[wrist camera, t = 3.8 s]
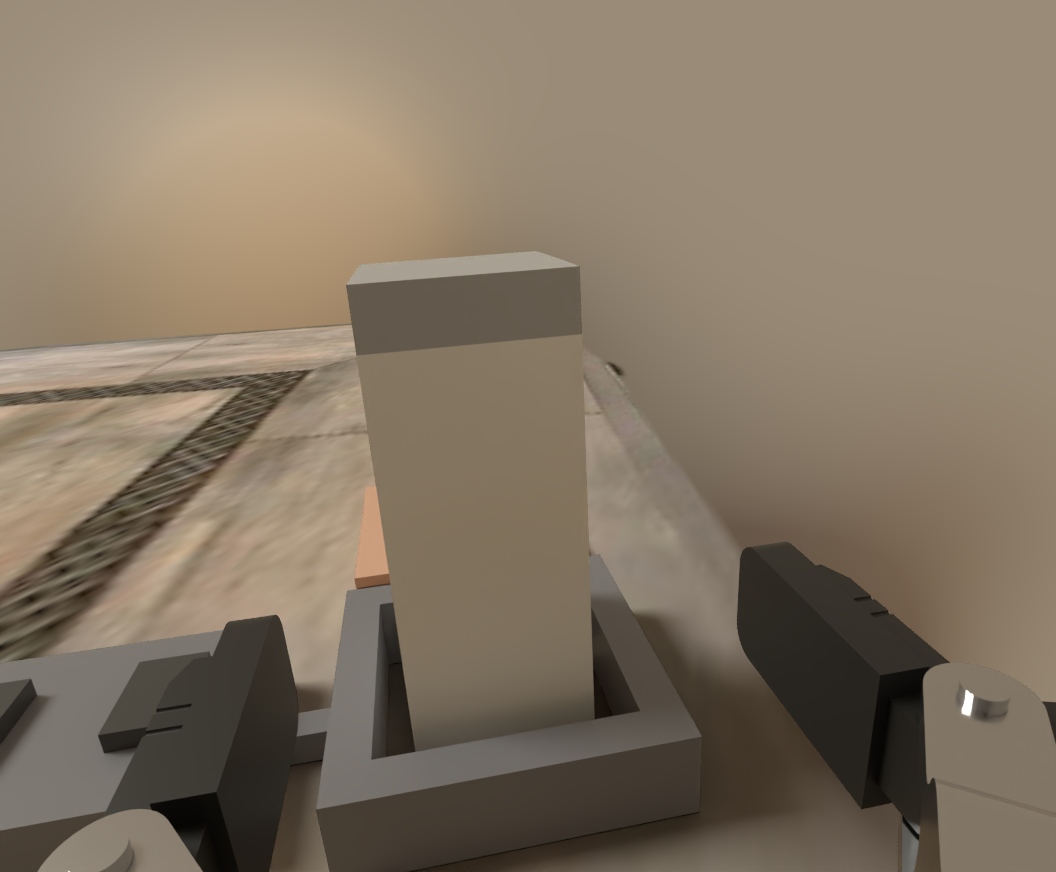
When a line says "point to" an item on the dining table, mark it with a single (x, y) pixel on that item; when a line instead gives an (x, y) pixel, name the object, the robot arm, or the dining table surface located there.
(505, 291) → the block
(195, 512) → the dining table surface
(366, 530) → the coaster
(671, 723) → the charging dock
